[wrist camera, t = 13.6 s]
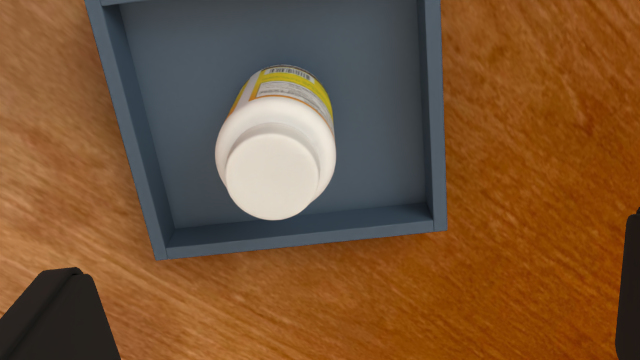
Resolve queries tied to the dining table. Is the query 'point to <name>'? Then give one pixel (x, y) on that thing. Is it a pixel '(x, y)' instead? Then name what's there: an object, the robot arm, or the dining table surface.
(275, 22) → the tray
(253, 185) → the supplement bottle
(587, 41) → the dining table surface
